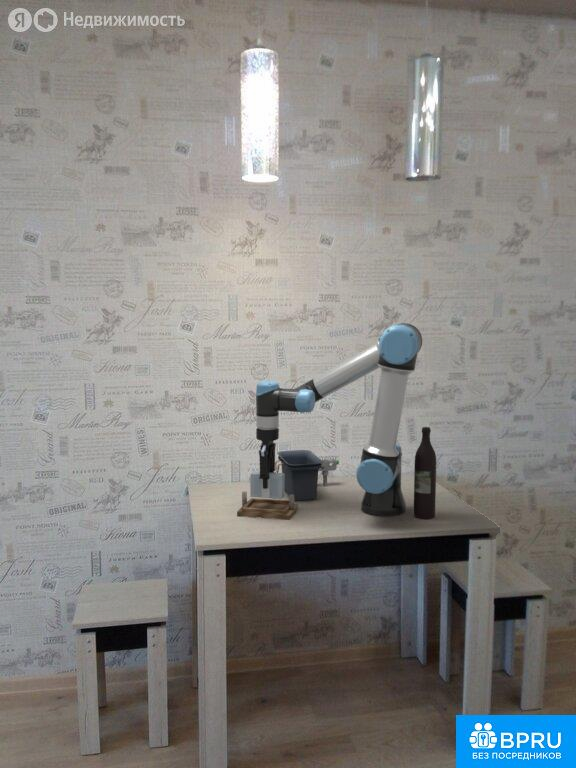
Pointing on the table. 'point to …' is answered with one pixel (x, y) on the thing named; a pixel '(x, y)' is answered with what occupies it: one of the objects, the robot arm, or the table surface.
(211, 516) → the table surface
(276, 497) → the pale blue rounded block
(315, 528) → the table surface
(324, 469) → the mechanical component
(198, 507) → the table surface
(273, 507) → the brown wooden shallow tray
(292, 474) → the storage bin
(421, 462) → the wine bottle
